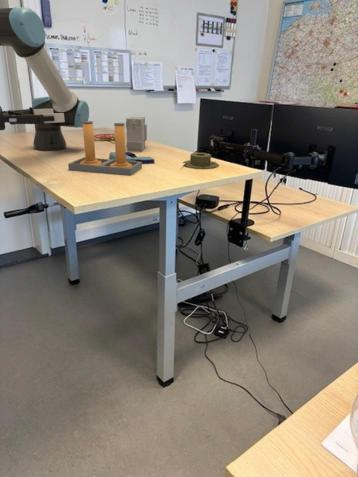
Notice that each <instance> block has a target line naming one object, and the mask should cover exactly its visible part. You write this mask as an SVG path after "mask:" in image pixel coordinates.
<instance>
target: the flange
mask: <svg viewBox="0 0 358 477" xmlns="http://www.w3.org/2000/svg"><path fill="white" fill-rule="evenodd" d="M189 158H190V159H188V160H184V161H183V162H182V164H183V165H182V166H183V167H185V168H188V169H193V170H212V169H217V168H219V163H217V162H215V161H212V154H210V153H206V152H191V153H190V156H189Z"/></svg>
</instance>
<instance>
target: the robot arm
mask: <svg viewBox="0 0 358 477" xmlns="http://www.w3.org/2000/svg"><path fill="white" fill-rule="evenodd" d="M46 37H47V36H46V31H45V25H44V22H43V20H42V19H41V16H39V14H37V12H35V11H34V10H32V8H28V7H22V6H15V7H0V47H12V50H13V51H14V52H15V54H16V56H17V57H19V58H22V59H24V60H25V62H26V63H27V64H28V66H29V67H30V69H31V71H32V72H33V74H34V75H35V76H36V78H37V80H38V81H39V83H40V84H41V86H42V87H43V89H44V90H45V92H46V94H48V96H41V97H35V98H33V99H31V106H30V107H28V108H27V109H13V110H12V109H9V110H3V108H2V106H1V105H0V131H5V130H6V123H8V124H9V125H11V126H12V125H34V130H35V133H34V139H33V143H32V145H33V149H34V150H36V151H37V150H38V151H58V150H64V149H66V148H67V147H68V146H67V141H66V139H65V137H64V136H65V135H64V134H63V132H62V127H66V128H75V129H76V128H83V123H82V121H89V119H90V108H89V104H88V102H86V100H82V99H81V100H79V97H78V96H77V95H76V93H75V92H73V91H70V88H69V87H68V86H67V84H66V82H65V80H64V79H63V77H62V75H61V74H60V72H59V70H58V68H57V66H56V65H55V63H54V61H53V59H52V58H51V55H49V53H48V50H47V49H46V47H45V46H46Z"/></svg>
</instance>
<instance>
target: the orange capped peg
mask: <svg viewBox="0 0 358 477" xmlns="http://www.w3.org/2000/svg"><path fill="white" fill-rule="evenodd" d="M113 126H114V128H113V129H114V130H113V131H114V134H115V140H114V143H115V144H114V147H115V148H114V149H115V151H114V152H116V162H114V163H112V164H110V167H121V168H130V167H132V164H130V163H128V162H126V152H127V149H126V129H125V128H126V122H115V123H113Z"/></svg>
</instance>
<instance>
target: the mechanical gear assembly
mask: <svg viewBox="0 0 358 477" xmlns="http://www.w3.org/2000/svg"><path fill="white" fill-rule="evenodd" d="M94 142H108V143H112V144H113V145H115V133H96V134H94Z"/></svg>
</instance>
